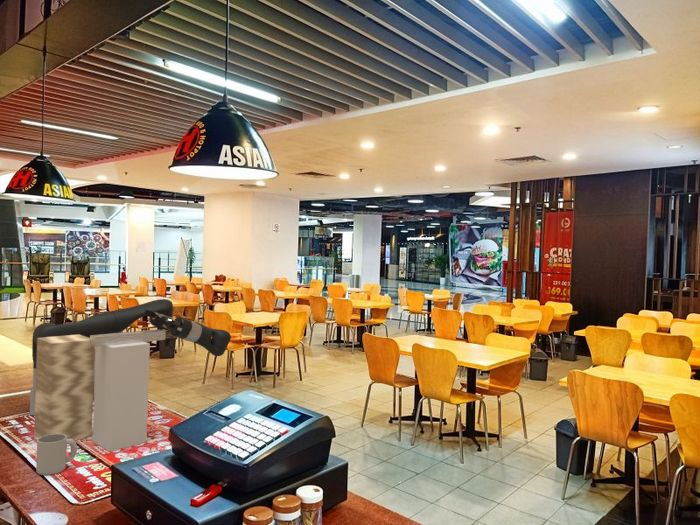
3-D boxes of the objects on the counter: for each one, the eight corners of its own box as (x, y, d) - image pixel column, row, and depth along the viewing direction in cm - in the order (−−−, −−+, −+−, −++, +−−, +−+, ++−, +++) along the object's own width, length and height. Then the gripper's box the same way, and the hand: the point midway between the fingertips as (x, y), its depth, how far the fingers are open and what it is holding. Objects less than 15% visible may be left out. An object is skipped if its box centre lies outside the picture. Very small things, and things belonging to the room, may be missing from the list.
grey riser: (109, 451, 159) (112, 347, 158) (92, 441, 166) (95, 342, 166) (146, 442, 167) (149, 343, 167) (129, 432, 175) (132, 338, 175)
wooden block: (95, 347, 158) (95, 337, 158) (89, 345, 161) (90, 335, 161) (165, 339, 175) (165, 330, 175) (159, 338, 178) (159, 329, 178)
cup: (33, 468, 145) (34, 437, 145) (73, 460, 151) (74, 430, 151) (38, 477, 139) (39, 444, 139) (79, 468, 146) (80, 437, 146)
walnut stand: (48, 446, 161) (51, 343, 160) (34, 435, 170) (37, 337, 169) (91, 436, 171) (94, 339, 170) (76, 426, 179) (79, 334, 179)
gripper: (182, 315, 201) (146, 300, 190) (200, 326, 191) (163, 311, 180) (172, 333, 200) (136, 319, 189) (190, 344, 190) (153, 330, 179)
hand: (149, 315), depth 184 cm, fingers open, 8 cm apart
